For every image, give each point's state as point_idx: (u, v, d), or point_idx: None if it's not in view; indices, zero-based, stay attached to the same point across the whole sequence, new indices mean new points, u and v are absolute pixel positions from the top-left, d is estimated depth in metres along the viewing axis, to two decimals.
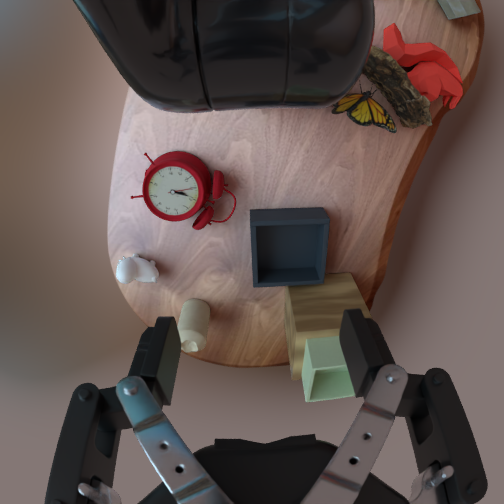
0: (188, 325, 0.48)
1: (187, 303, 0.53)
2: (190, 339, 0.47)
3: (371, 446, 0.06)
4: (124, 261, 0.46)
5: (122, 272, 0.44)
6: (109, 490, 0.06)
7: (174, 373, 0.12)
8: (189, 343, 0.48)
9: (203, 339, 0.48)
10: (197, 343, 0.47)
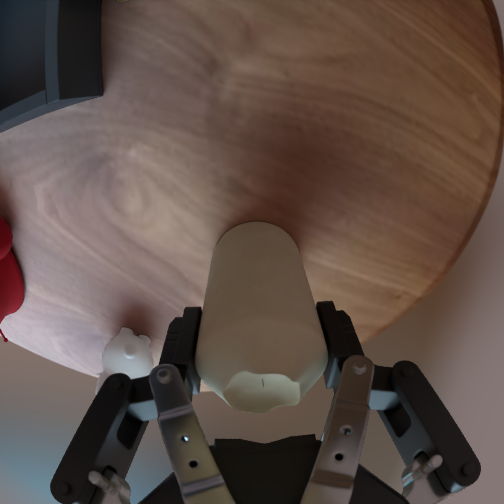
0: None
1: None
2: (222, 382, 0.10)
3: (353, 439, 0.07)
4: None
5: None
6: (120, 482, 0.06)
7: None
8: (263, 380, 0.11)
9: (241, 334, 0.10)
10: (247, 365, 0.10)
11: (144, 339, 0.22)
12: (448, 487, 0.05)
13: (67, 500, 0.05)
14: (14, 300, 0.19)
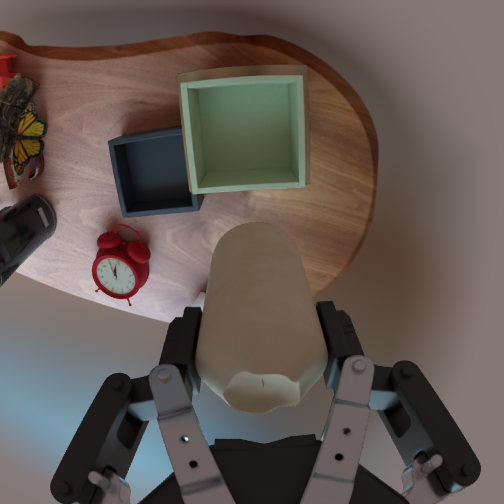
0: None
1: None
2: (222, 383, 0.10)
3: (353, 439, 0.07)
4: None
5: None
6: (120, 482, 0.06)
7: None
8: (263, 380, 0.11)
9: (241, 334, 0.10)
10: (247, 366, 0.10)
11: None
12: (448, 487, 0.05)
13: (67, 500, 0.05)
14: (143, 282, 0.49)
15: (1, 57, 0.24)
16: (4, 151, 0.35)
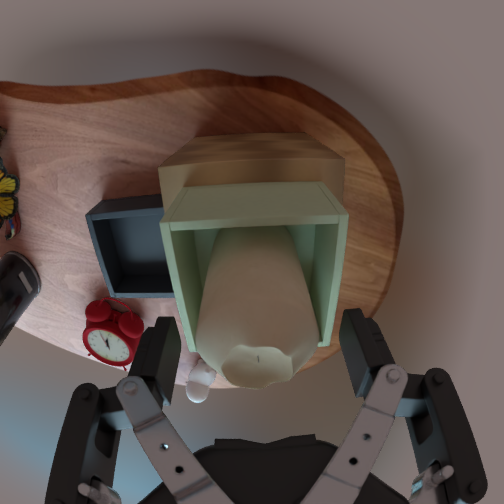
0: None
1: None
2: (220, 357, 0.11)
3: (371, 446, 0.06)
4: None
5: (189, 398, 0.44)
6: (109, 490, 0.06)
7: (174, 373, 0.12)
8: (258, 356, 0.12)
9: (238, 310, 0.11)
10: (243, 339, 0.11)
11: None
12: (452, 502, 0.04)
13: None
14: None
15: None
16: None
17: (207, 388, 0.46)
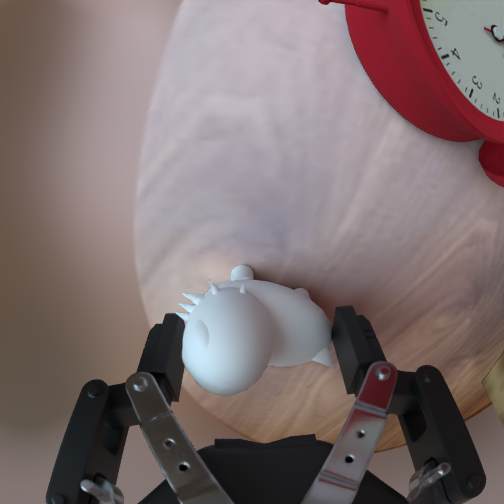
0: None
1: None
2: None
3: (366, 444, 0.07)
4: (224, 305, 0.11)
5: (226, 361, 0.09)
6: (112, 487, 0.06)
7: (182, 369, 0.12)
8: None
9: None
10: None
11: None
12: (451, 497, 0.05)
13: None
14: (415, 106, 0.09)
15: None
16: None
17: None
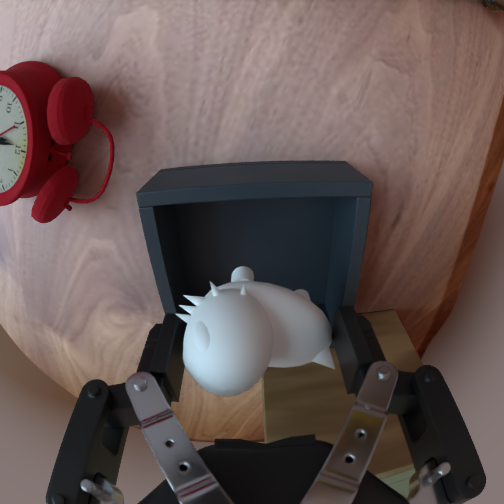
0: None
1: None
2: None
3: (366, 444, 0.07)
4: (224, 307, 0.11)
5: (227, 363, 0.10)
6: (112, 487, 0.06)
7: (182, 369, 0.12)
8: None
9: None
10: None
11: None
12: (451, 497, 0.05)
13: None
14: None
15: None
16: None
17: None
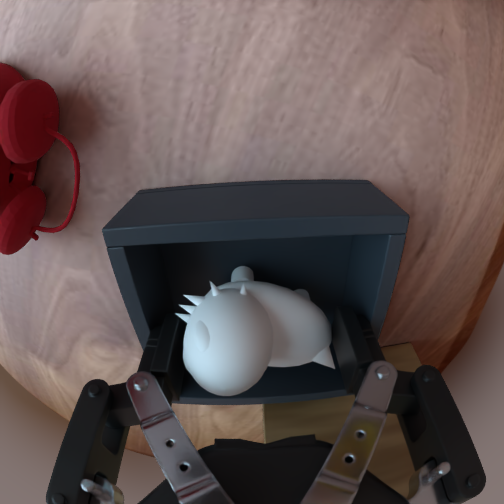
0: None
1: None
2: None
3: (366, 443, 0.07)
4: (224, 306, 0.11)
5: (227, 362, 0.10)
6: (112, 487, 0.06)
7: (182, 369, 0.12)
8: None
9: None
10: None
11: None
12: (451, 497, 0.05)
13: None
14: None
15: None
16: None
17: None
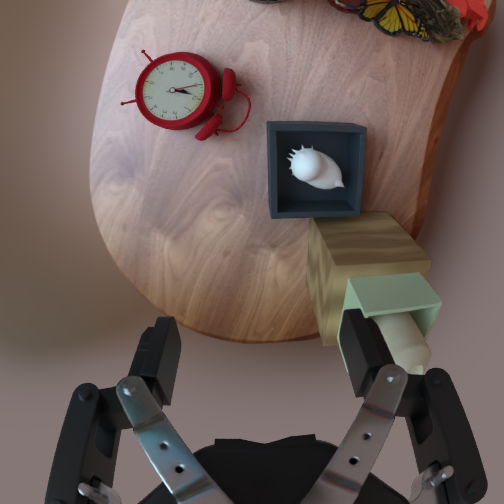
0: (411, 337, 0.23)
1: None
2: (419, 362, 0.22)
3: (371, 446, 0.06)
4: (308, 149, 0.32)
5: (312, 159, 0.31)
6: (109, 490, 0.06)
7: (174, 373, 0.12)
8: (408, 370, 0.23)
9: (429, 358, 0.23)
10: (424, 367, 0.22)
11: None
12: (452, 502, 0.04)
13: None
14: None
15: (483, 23, 0.20)
16: None
17: None
